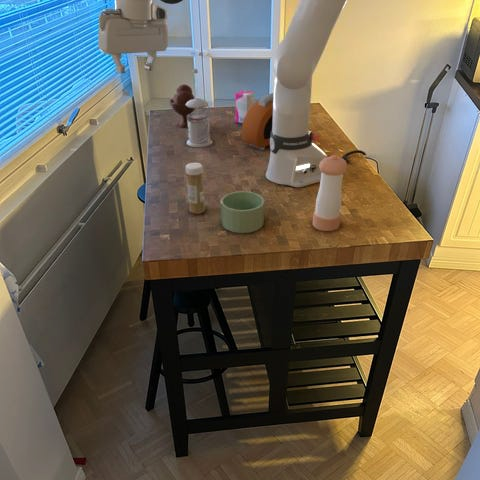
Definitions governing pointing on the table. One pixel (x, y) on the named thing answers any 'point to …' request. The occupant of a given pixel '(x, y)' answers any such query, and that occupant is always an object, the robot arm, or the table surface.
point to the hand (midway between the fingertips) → (135, 71)
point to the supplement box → (243, 104)
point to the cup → (242, 211)
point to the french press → (198, 122)
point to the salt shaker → (329, 194)
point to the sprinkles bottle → (195, 187)
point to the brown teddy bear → (182, 103)
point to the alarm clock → (259, 123)
